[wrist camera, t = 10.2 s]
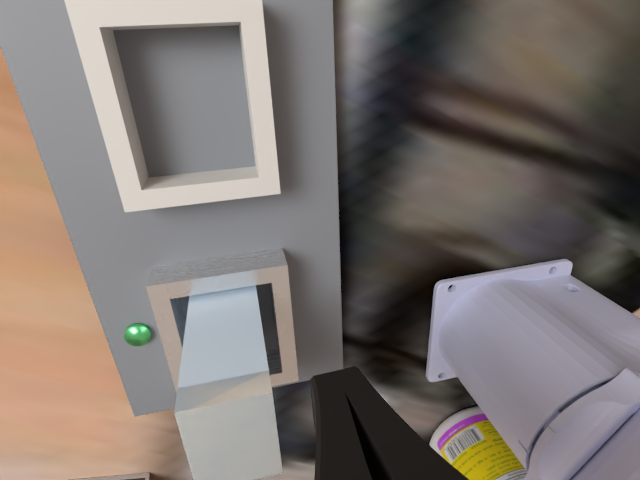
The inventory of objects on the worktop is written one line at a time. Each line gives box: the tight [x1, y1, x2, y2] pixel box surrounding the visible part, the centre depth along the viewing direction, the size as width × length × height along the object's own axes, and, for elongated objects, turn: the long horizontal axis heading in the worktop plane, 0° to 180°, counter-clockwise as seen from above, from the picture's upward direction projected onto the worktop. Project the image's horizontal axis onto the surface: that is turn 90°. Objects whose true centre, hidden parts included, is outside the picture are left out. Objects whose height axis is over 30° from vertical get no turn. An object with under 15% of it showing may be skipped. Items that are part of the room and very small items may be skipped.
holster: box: [64, 0, 281, 212], centre depth 15 cm, size 6×7×2 cm
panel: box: [0, 0, 343, 416], centre depth 19 cm, size 12×21×1 cm, turn 3°
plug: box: [174, 285, 283, 480], centre depth 17 cm, size 3×4×8 cm
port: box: [124, 248, 299, 393], centre depth 19 cm, size 8×7×2 cm
